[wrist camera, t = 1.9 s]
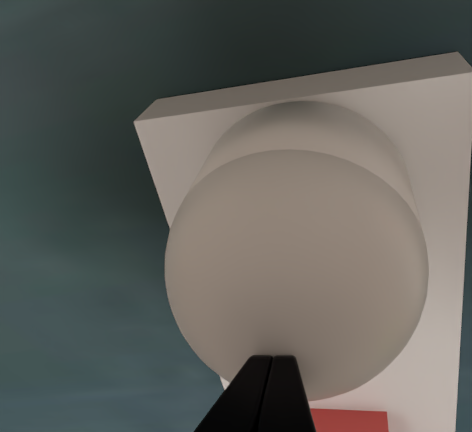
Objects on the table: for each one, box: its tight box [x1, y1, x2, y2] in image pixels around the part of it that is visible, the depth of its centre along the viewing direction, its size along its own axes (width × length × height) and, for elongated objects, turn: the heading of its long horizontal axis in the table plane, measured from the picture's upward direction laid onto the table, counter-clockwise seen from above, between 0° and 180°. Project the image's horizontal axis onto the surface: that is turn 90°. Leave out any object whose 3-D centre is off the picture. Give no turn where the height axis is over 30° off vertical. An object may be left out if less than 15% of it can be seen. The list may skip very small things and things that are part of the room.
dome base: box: [134, 52, 472, 432], centre depth 15 cm, size 18×9×6 cm, turn 12°
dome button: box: [165, 101, 429, 401], centre depth 12 cm, size 6×6×8 cm
